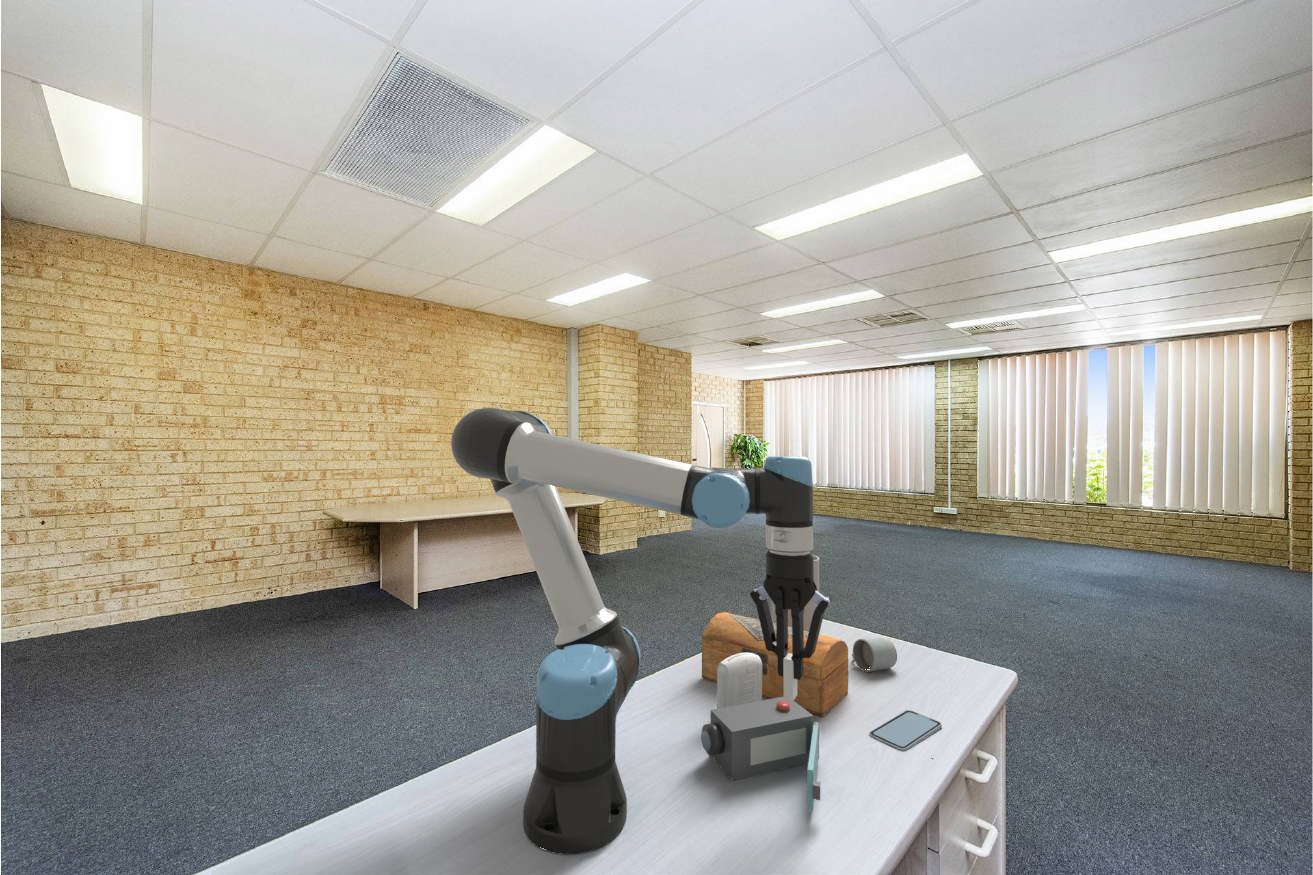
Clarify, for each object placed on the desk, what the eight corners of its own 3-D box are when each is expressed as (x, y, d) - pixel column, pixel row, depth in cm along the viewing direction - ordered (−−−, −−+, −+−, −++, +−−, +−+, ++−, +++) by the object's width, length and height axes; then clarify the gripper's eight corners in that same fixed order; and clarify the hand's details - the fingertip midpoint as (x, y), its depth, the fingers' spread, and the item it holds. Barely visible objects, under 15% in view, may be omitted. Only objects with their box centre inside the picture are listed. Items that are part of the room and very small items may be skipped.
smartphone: (866, 733, 105) (907, 708, 114) (866, 738, 105) (907, 713, 114) (903, 750, 99) (943, 723, 108) (903, 755, 99) (943, 728, 108)
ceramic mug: (900, 672, 134) (899, 640, 134) (873, 677, 131) (873, 644, 131) (868, 657, 144) (868, 627, 144) (843, 661, 141) (843, 631, 141)
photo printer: (750, 704, 117) (751, 646, 117) (765, 712, 113) (765, 652, 113) (713, 717, 111) (713, 656, 111) (727, 726, 107) (727, 663, 107)
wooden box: (697, 680, 129) (697, 621, 129) (734, 659, 142) (734, 605, 142) (819, 722, 110) (819, 652, 110) (849, 693, 122) (849, 631, 122)
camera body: (717, 783, 89) (717, 729, 89) (697, 757, 97) (697, 707, 97) (813, 761, 95) (813, 711, 96) (787, 738, 103) (787, 691, 103)
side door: (819, 813, 80) (820, 772, 81) (806, 810, 81) (806, 770, 81) (824, 758, 95) (824, 723, 95) (813, 756, 95) (813, 721, 95)
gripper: (743, 551, 89) (744, 697, 88) (825, 559, 82) (826, 716, 82) (758, 543, 95) (759, 679, 95) (835, 550, 89) (836, 696, 89)
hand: (790, 696), depth 88 cm, fingers closed
